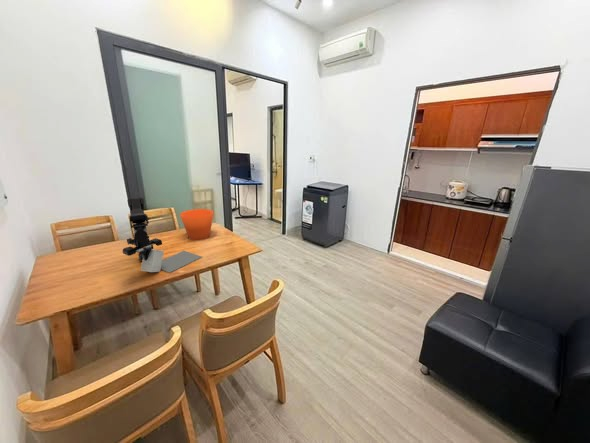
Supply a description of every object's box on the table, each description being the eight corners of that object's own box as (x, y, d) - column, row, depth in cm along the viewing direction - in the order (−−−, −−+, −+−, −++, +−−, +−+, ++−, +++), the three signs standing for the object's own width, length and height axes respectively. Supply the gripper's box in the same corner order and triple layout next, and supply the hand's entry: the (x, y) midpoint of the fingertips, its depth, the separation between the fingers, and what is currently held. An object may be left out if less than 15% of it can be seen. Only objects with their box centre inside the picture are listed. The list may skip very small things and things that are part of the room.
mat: (184, 251, 168) (184, 250, 168) (202, 257, 160) (202, 256, 160) (150, 265, 148) (150, 264, 148) (169, 273, 140) (169, 272, 140)
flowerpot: (208, 229, 212) (207, 207, 206) (220, 237, 194) (218, 214, 188) (178, 234, 197) (175, 211, 191) (188, 245, 179) (185, 219, 173)
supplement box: (160, 271, 142) (164, 250, 143) (150, 272, 135) (155, 250, 136) (150, 269, 143) (154, 249, 145) (139, 270, 136) (144, 248, 138)
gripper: (149, 227, 142) (153, 251, 147) (114, 236, 127) (120, 263, 131) (160, 230, 137) (164, 255, 142) (125, 241, 122) (131, 268, 126)
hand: (145, 260), depth 136 cm, fingers closed
